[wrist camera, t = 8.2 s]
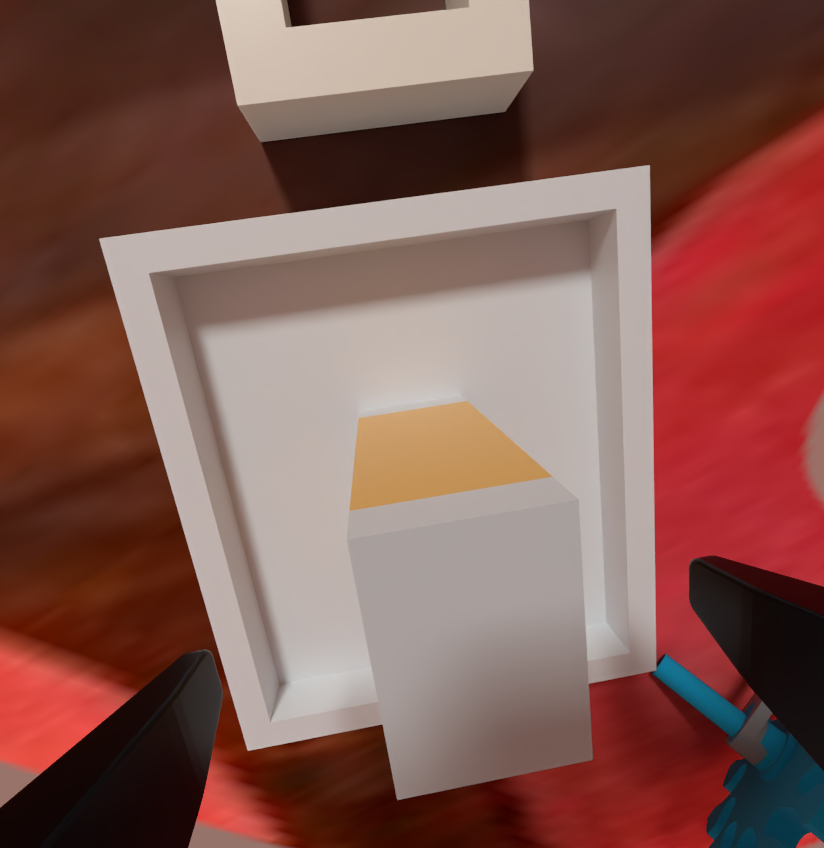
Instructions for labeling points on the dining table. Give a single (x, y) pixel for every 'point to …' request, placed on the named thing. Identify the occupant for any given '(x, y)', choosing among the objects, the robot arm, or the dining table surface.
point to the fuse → (467, 598)
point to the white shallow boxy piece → (374, 66)
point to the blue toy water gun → (755, 771)
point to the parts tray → (391, 386)
